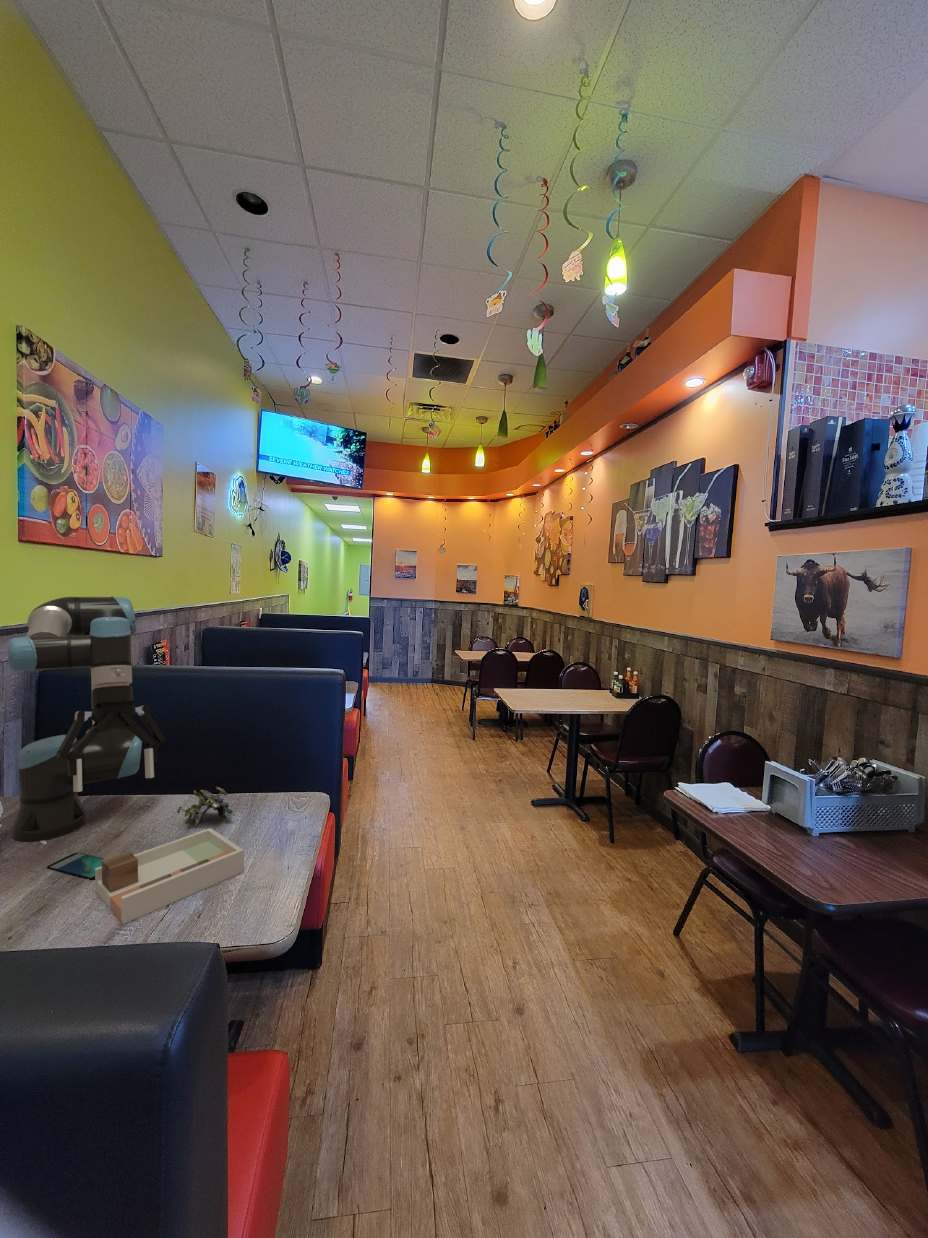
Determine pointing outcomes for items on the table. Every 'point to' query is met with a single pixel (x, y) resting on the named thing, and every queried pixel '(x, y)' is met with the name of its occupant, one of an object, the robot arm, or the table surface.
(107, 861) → the walnut block
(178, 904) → the table surface
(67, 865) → the smartphone
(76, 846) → the table surface
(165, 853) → the tray
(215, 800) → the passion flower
